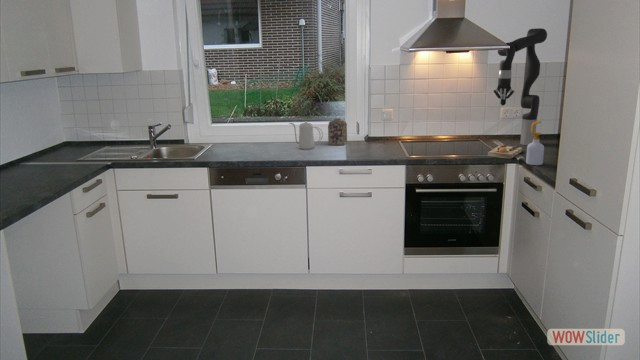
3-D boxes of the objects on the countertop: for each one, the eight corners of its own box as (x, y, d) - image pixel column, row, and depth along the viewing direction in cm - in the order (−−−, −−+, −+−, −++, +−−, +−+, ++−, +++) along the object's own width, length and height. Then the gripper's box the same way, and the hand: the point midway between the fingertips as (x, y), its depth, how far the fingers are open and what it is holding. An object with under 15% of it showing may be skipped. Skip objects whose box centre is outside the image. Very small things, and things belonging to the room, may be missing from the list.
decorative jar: (347, 142, 376) (347, 117, 372) (344, 145, 365) (344, 120, 361) (331, 142, 379) (330, 117, 374) (327, 145, 368) (327, 119, 363)
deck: (499, 149, 340) (500, 143, 339) (522, 151, 332) (522, 145, 331) (487, 156, 322) (488, 150, 321) (510, 158, 314) (511, 152, 313)
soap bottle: (544, 165, 295) (548, 122, 289) (527, 165, 297) (530, 122, 291) (541, 161, 304) (544, 120, 297) (524, 161, 306) (527, 119, 299)
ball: (497, 147, 321) (497, 155, 322) (505, 147, 318) (505, 156, 319) (500, 146, 325) (499, 154, 326) (508, 147, 322) (507, 155, 323)
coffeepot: (292, 145, 370) (291, 119, 365) (325, 147, 361) (325, 120, 356) (286, 148, 360) (285, 121, 355) (319, 150, 351) (319, 122, 346)
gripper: (517, 77, 324) (515, 105, 329) (496, 76, 332) (494, 104, 336) (513, 78, 318) (511, 106, 323) (492, 77, 326) (490, 105, 331)
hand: (502, 105), depth 330 cm, fingers closed
